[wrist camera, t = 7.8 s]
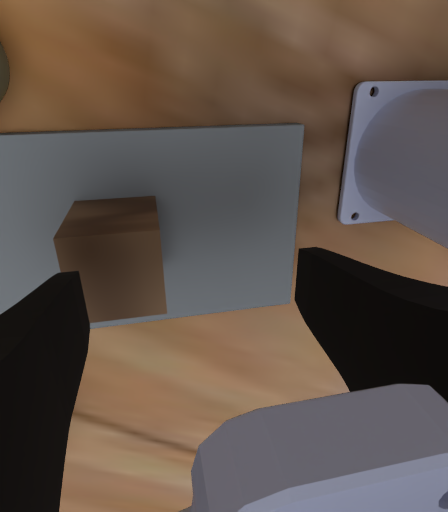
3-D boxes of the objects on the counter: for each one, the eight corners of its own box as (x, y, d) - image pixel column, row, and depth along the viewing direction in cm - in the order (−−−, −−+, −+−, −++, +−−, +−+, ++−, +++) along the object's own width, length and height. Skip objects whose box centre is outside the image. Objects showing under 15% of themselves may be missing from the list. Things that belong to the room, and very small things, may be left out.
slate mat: (296, 123, 20) (304, 124, 19) (284, 295, 24) (290, 303, 24) (-75, 135, 17) (-87, 138, 16) (-6, 331, 21) (-13, 341, 20)
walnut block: (155, 195, 19) (159, 229, 14) (161, 264, 21) (167, 313, 16) (74, 200, 18) (52, 238, 14) (88, 271, 20) (72, 325, 15)
